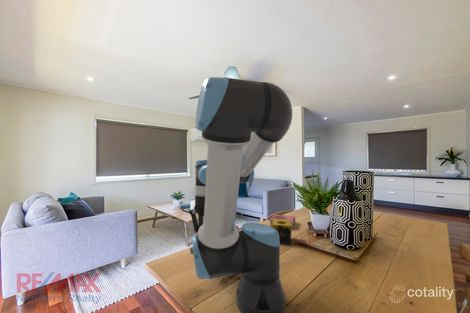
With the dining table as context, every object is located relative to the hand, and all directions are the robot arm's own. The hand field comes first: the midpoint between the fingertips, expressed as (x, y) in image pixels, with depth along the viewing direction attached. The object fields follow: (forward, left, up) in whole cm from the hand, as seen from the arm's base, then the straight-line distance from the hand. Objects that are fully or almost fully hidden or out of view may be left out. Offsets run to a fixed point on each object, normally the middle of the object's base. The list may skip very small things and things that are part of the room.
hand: (203, 248), depth 89 cm
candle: (+43, -12, -5) cm, 45 cm away
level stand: (+12, +5, -5) cm, 14 cm away
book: (+65, +2, -6) cm, 66 cm away
